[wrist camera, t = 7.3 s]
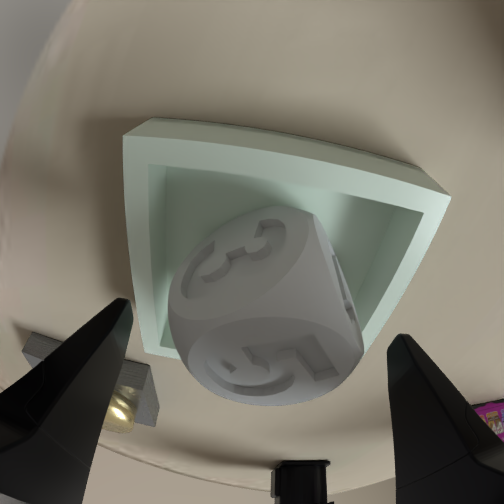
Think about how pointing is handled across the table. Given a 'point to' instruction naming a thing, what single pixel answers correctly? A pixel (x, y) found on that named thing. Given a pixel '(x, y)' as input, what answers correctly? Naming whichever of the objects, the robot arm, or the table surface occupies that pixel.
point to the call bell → (125, 392)
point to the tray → (265, 195)
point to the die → (265, 310)
